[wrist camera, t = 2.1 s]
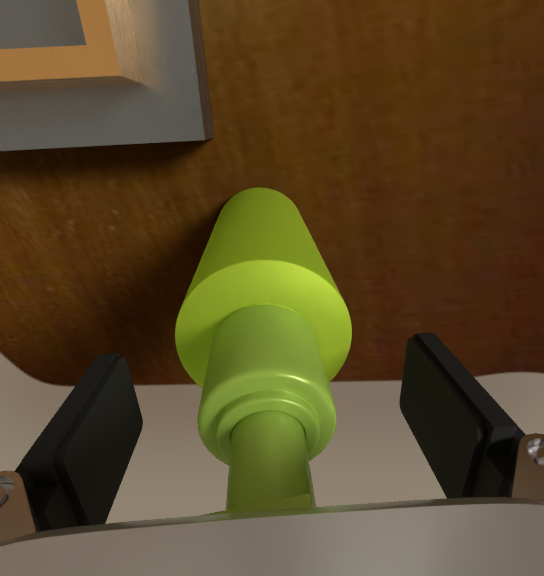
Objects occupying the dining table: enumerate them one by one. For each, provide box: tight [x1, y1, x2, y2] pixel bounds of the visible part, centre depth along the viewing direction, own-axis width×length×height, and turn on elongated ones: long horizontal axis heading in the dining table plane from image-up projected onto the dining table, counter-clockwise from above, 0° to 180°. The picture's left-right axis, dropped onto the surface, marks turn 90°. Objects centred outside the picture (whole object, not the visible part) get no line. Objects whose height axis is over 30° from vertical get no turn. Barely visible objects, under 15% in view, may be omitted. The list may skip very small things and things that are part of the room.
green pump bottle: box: [175, 188, 352, 516], centre depth 14 cm, size 6×7×20 cm
